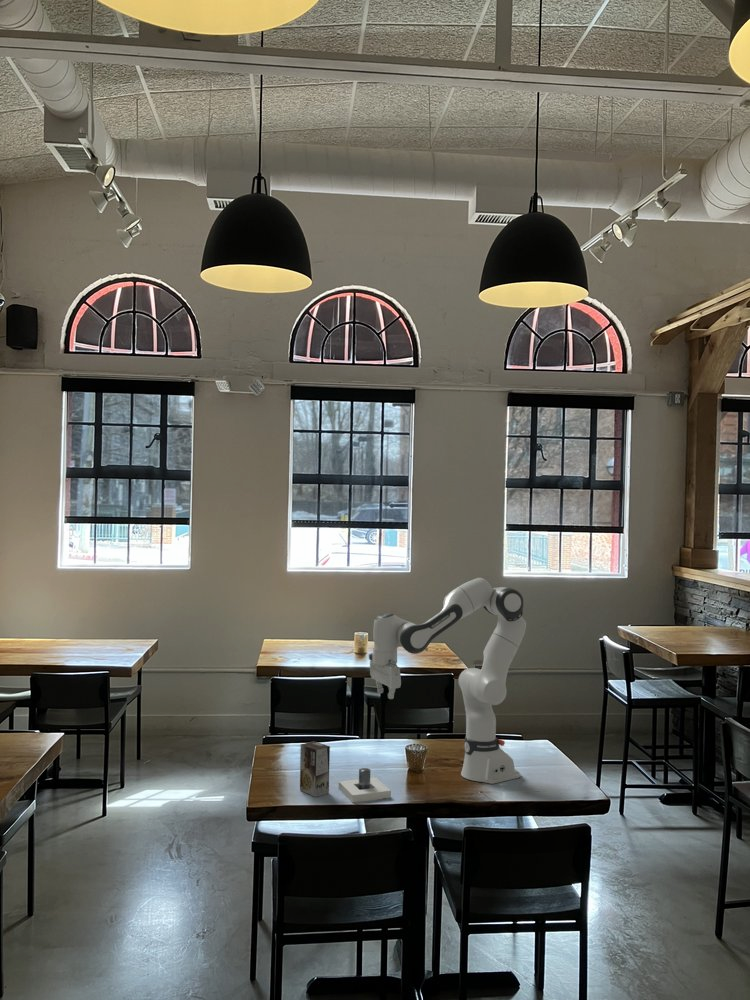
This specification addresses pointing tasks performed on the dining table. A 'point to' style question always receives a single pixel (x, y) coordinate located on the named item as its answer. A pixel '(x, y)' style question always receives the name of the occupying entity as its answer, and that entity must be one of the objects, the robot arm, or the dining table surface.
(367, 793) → the plate
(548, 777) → the dining table surface
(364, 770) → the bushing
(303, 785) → the coffee box
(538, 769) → the dining table surface
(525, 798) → the dining table surface
